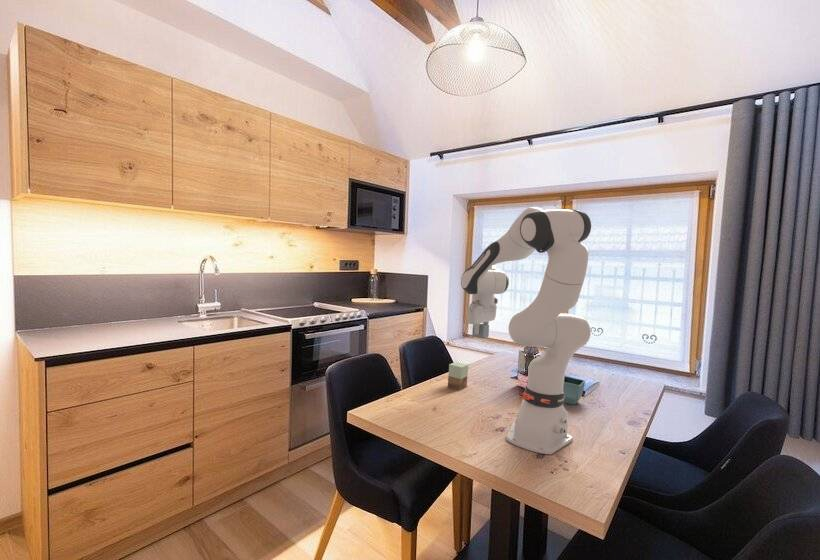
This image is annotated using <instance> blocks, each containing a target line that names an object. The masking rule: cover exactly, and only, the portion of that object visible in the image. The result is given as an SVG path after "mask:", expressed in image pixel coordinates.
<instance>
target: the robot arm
mask: <svg viewBox="0 0 820 560" xmlns="http://www.w3.org/2000/svg"><path fill="white" fill-rule="evenodd" d="M591 221H592V220H591V219H590V217H589V215H588V214H587V213H586V212H584V211H582V210H578V209H558V208H554V209H545V210H544V209H542V208H540V207H536V206H532V207H527V208H526V209H524V210H523V211H522V212H521V213H520V214H519V215H518V217H517V218H516V219H515V220H514V221H513V223H512V224H511V226H510V227H509V229H508V230H507V232H505V233H504V234H503V235H502V236H501V237H500V238H499V239H497V240H496V241H493V242H492V243H490V244H489V245H488V246H487V247H486V248H485V249H484V250H483V252H481V254H480V255H479V256H478V257H477V258H476V260H475V261H474V262H473V264H471V266H470V267H467V269H465V271H464V272H463V273H462V275H461V278H460V286H461V288H462V289H463V291H465V293H466V294H468V295H471V303H470V305H469V306H468V308H467V316H466V323H467V324H469V325H472V327H473V326H474V329H475V334H480V330H479V326H480V324H485V325H490V324H489V323H490V322H492V321H495V319H496V316H497V304H498V298H497V297H496V296H495V295H501V294H504V293H505V292H506V291H507V290H508V288H509V284H510V280H509V279H510V278H509V275H508V274H507V273H506V272H505V270H501V269H500V268H498V267H497V266H496V265H497V264H501V263H505V262H514V261H521V260H524V259H526V258H527V257H529V256H531V255H532V254H533V253H534V252H535V251H536V252H537V253H540V254H541V253H542V254H544V253H546V252H547V257H548V260H547V264H546V267H545V271H544V276H543V279H542V283H541V286H540V288H539V291H538V294H537V296H536V297H535V299H534V300H533V301H532V302H531V303H530V304H529V305H528V306H527V307H526V308H525V309H523V310H522V311H519V312H517V313H516V314H514V315H513V316H512V317H511V319H510V320H509V324H508V333H509V337H510V339H511V340H512V341H513V342H514V343H515V344H518V345H521V346H526V347H529V348H530V347H533V348H535V347H536V348H545V350H544V351H543V353H541V354H542V355H541V356H539V357H537V358H535V359H533V360H532V361H531V362H530V364H529V366H528V380H527V386H526V389H524V392H523V393H522V400H521V404H520V406H519V409H518V411H517V414H516V418H515V419H514V420H513V422H512V424H511V426H510V427H509V430H508V432H507V433H506V438H505V440H506V442H507V441H508V442H509V443H510V444H512V445H515V446H517V447H519V448H522V449H524V450H528V451H531V452H534V453H537V454H542V455H543V454H545V455H552V454H554V453H556V452H557V451H559V450H561V449H562V448H563V447H565V446H566V445H568V444H570V443H572V442H573V436H572V435H571V434H569V433H568V431H569V430H568V428H569V413H568V411H567V410H566V408H565V407H564V404H565V402H564V398H565V396H564V391H563V386H564V377H565V376H566V371H567V367H568V365H569V362H570V360H572V357H573V356H574V355H575V353H577V351H578V350H580V349H581V348H582V347H583V348H584V346H586V345H587V344H588V342H589V341H590V338H591V327H590V324H589V322H588V321H587V319H586V318H584V317H582V316H578V315H574V314H570V313H565V312H566V311H568V310H571V309H572V308H574V307H575V306H576V304H577V303H578V301H579V297H580V294H581V291H582V288H583V284H584V281H585V278H586V274H587V269H588V264H589V263H588V262H589V251H588V247H587V246H586V245H585V244H583V243H582V242H583V241H585V240H586V239H588V237H589V235H590V234H591V230H592V222H591Z"/></svg>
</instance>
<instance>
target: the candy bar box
mask: <svg viewBox="0 0 820 560" xmlns="http://www.w3.org/2000/svg"><path fill="white" fill-rule="evenodd" d="M537 353H538V352H537ZM542 354H543V353H540V352H539V353H538V354H536V355H535V357H534V359H535V358H537V357H539V356H541V355H542ZM517 362H518V363H517V373H516V374H517V375H516V377H517V376H518V373H519V372H521V371H523V370H524V367H525V353H524V349H519V350H518V361H517Z"/></svg>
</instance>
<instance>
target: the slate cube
mask: <svg viewBox="0 0 820 560" xmlns="http://www.w3.org/2000/svg"><path fill="white" fill-rule="evenodd" d="M479 330H480V334H475V329H474V326H473V325H472V331H471V335H472V338H478V339H486V338H489V333H490V324H488V325H485V324H483V323H480V326H479Z"/></svg>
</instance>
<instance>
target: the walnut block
mask: <svg viewBox="0 0 820 560" xmlns="http://www.w3.org/2000/svg"><path fill="white" fill-rule="evenodd" d="M467 387H468V376H466V377H464V378H462V379H459V378H455V377H451V376H449V375H448V379H447V388H449V389H454V390H457V391H462V390H464V389H466V388H467Z"/></svg>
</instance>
